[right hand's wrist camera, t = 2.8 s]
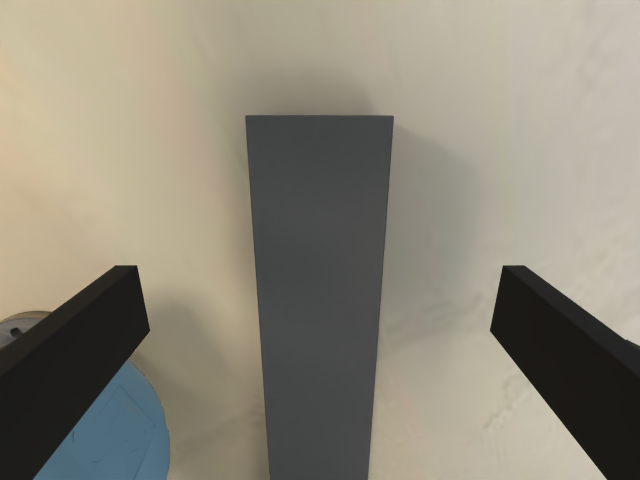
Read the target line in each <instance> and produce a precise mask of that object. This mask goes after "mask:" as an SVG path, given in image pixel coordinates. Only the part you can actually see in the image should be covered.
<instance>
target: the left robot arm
mask: <svg viewBox="0 0 640 480" xmlns="http://www.w3.org/2000/svg"><path fill="white" fill-rule="evenodd" d="M49 314H51V313H49V312H25V313H20V314H17V315H13V316H11V317H9V318H7V319H5V320H3V321H2V322H0V348H1V347H3V346H5V345H7V344H9V343H11V342H13V341H14V340H15V339H17V338H18V337H19V336H21V335H22V334H23V333H25V332H26V331H27V330H29V329H30V328H32V327H33V326H34V325H36V324H37V323H38V322H40V321H41V320H42V319H44V318H45V317H46V316H48V315H49ZM169 463H170V439H169V431H168V429H167V426H166V423H165V413H164V410H163V407H162V405H161V402H160V400H159V398H158V396H157V394H156V392H155V390H154V388H153V387H152V385H151V384H150V382H149V381H148V380H147V378H146V377H145V376H144V375H143V374H142V373H141V372H140V371H139V370H138V369H137V368H136V367H135V366H134V365H133V364H132V363H130V362H129V361H128V360H127V361H126V362H125V363H124V364H123V366H122V367H121V368H120V370H119V371H118V372H117V373H116V375H115V376H114V377H113V378H112V380H111V381H110V382H109V384H108V385H107V386H106V387H105V389H104V390H103V391H102V392H101V394H100V395H99V396H98V398H97V399H96V400H95V401H94V403H93V404H92V405H91V406H90V408H89V409H88V410H87V411H86V413H85V414H84V415H83V417H82V418H81V419H80V420H79V422H78V423H77V424H76V425H75V427H74V428H73V429H72V431H71V432H70V433H69V434H68V436H67V437H66V438H65V439H64V441H63V442H62V443H61V445H60V446H59V447H58V448H57V450H56V451H55V452H54V453H53V455H52V456H51V457H50V459H49V460H48V461H47V462H46V464H45V465H44V466H43V467H42V469H41V470H40V471H39V472H38V474H37V475H36V476H35V478H34V479H33V480H167V476H168V471H169Z"/></svg>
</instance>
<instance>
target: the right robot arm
mask: <svg viewBox="0 0 640 480" xmlns="http://www.w3.org/2000/svg"><path fill="white" fill-rule="evenodd" d="M149 331H150V328H149V323H148V318H147V313H146V308H145V303H144V298H143V293H142V288H141V283H140V278H139V273H138V268H137V266H114V267H113V268H112V269H110V270H109V271H108V272H106V273H105V274H103V275H102V276H101V277H99V278H98V279H97V280H95V281H94V282H93V283H91V284H90V285H89V286H87V287H86V288H84V289H83V290H82V291H80V292H79V293H78V294H76V295H75V296H74V297H72V298H71V299H70V300H68V301H67V302H65V303H64V304H63V305H61V306H60V307H59V308H57V309H56V310H55V311H53V312H52V313H51V314H49V315H48V316H46V317H45V318H44V319H42V320H41V321H40V322H38V323H37V324H36V325H34V326H33V327H32V328H30V329H29V330H27V331H26V332H25V333H23V334H22V335H21V336H19V337H18V338H17V339H15V340H14V341H13V342H11V343H9V344H7V345H5V346H3V347H1V348H0V480H33V479H34V478H35V476H36V475H37V474H38V472H39V471H40V470H41V469H42V467H43V466H44V465H45V464H46V462H47V461H48V460H49V459H50V457H51V456H52V455H53V453H54V452H55V451H56V450H57V448H58V447H59V446H60V445H61V443H62V442H63V441H64V439H65V438H66V437H67V436H68V434H69V433H70V432H71V431H72V429H73V428H74V427H75V425H76V424H77V423H78V422H79V420H80V419H81V418H82V417H83V415H84V414H85V413H86V411H87V410H88V409H89V408H90V406H91V405H92V404H93V403H94V401H95V400H96V399H97V398H98V396H99V395H100V394H101V392H102V391H103V390H104V389H105V387H106V386H107V385H108V384H109V382H110V381H111V380H112V378H113V377H114V376H115V375H116V373H117V372H118V371H119V370H120V368H121V367H122V366H123V364H124V363H125V362H126V361H127V359H128V358H129V357H130V356H131V354H132V353H133V352H134V351H135V349H136V348H137V347H138V345H139V344H140V343H141V342H142V340H143V339H144V338H145V337H146V335H147V334H148V333H149ZM490 331H491V333H492V334H493V335H494V337H495V338H496V339H497V340H498V342H499V343H500V344H501V345H502V347H503V348H504V349H505V351H506V352H507V353H508V354H509V356H510V357H511V358H512V359H513V361H514V362H515V363H516V364H517V366H518V367H519V368H520V370H521V371H522V372H523V373H524V375H525V376H526V377H527V378H528V380H529V381H530V382H531V384H532V385H533V386H534V387H535V389H536V390H537V391H538V392H539V394H540V395H541V396H542V398H543V399H544V400H545V401H546V403H547V404H548V405H549V406H550V408H551V409H552V410H553V411H554V413H555V414H556V415H557V417H558V418H559V419H560V420H561V422H562V423H563V424H564V425H565V427H566V428H567V429H568V431H569V432H570V433H571V434H572V436H573V437H574V438H575V439H576V441H577V442H578V443H579V445H580V446H581V447H582V448H583V450H584V451H585V452H586V453H587V455H588V456H589V457H590V459H591V460H592V461H593V462H594V464H595V465H596V466H597V467H598V469H599V470H600V471H601V472H602V474H603V475H604V476H605V478H606V479H607V480H640V346H638V345H636V344H634V343H632V342H630V341H628V340H625V339H623V338H622V337H621V336H619V335H618V334H617V333H615V332H614V331H613V330H611V329H610V328H608V327H607V326H606V325H604V324H603V323H602V322H600V321H599V320H598V319H596V318H595V317H594V316H592V315H591V314H589V313H588V312H587V311H585V310H584V309H583V308H581V307H580V306H579V305H577V304H576V303H575V302H573V301H572V300H570V299H569V298H568V297H566V296H565V295H564V294H562V293H561V292H560V291H558V290H557V289H556V288H554V287H553V286H551V285H550V284H549V283H547V282H546V281H545V280H543V279H542V278H541V277H539V276H538V275H537V274H535V273H534V272H532V271H531V270H530V269H528V268H527V267H526V266H503V268H502V273H501V278H500V283H499V288H498V293H497V298H496V303H495V308H494V313H493V318H492V323H491V328H490Z"/></svg>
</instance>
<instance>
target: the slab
mask: <svg viewBox="0 0 640 480" xmlns="http://www.w3.org/2000/svg"><path fill="white" fill-rule="evenodd" d="M393 120H394V116H365V115H246V116H245V121H246V135H247V150H248V165H249V179H250V194H251V208H252V223H253V238H254V252H255V267H256V281H257V296H258V311H259V325H260V340H261V354H262V369H263V384H264V398H265V413H266V427H267V442H268V457H269V471H270V480H368V469H369V455H370V441H371V427H372V413H373V399H374V385H375V371H376V357H377V343H378V329H379V315H380V301H381V287H382V273H383V259H384V245H385V231H386V217H387V203H388V189H389V175H390V161H391V147H392V133H393Z"/></svg>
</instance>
